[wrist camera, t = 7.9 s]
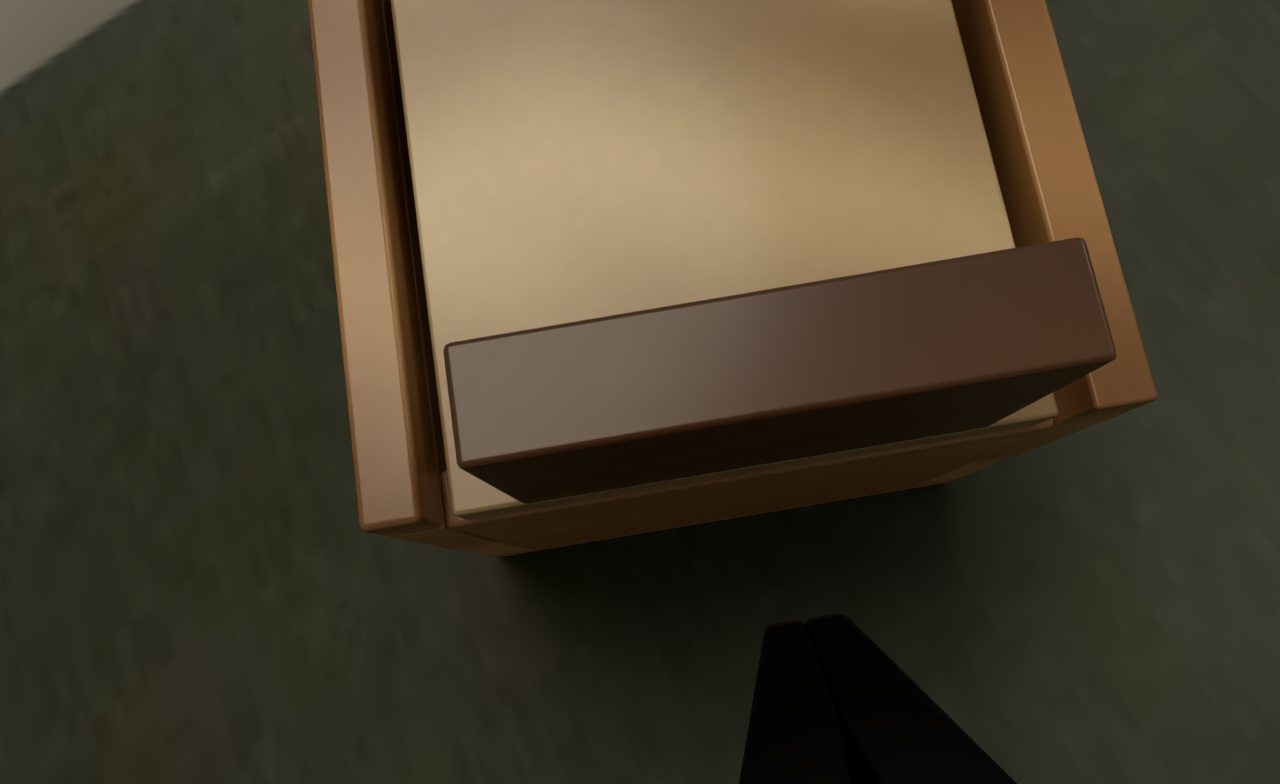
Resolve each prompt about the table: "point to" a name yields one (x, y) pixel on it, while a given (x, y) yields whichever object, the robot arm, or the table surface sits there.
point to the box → (421, 509)
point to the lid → (716, 243)
